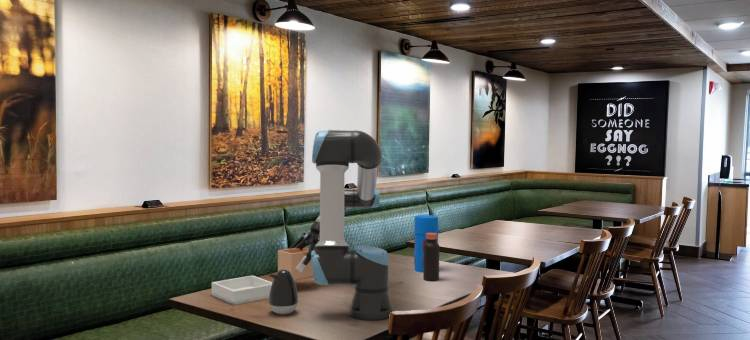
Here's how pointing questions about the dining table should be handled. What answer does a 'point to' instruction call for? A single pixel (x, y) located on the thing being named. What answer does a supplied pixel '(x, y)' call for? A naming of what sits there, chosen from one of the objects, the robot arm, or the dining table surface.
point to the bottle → (431, 258)
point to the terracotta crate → (295, 263)
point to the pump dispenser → (283, 293)
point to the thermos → (423, 237)
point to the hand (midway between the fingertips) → (290, 268)
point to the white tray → (241, 289)
